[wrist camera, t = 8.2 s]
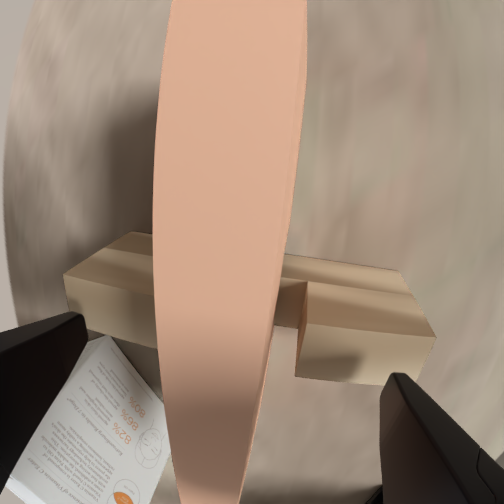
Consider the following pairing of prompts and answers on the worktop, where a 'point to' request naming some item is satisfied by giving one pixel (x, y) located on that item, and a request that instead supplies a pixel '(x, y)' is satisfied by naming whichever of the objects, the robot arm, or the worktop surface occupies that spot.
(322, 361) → the birch notched block
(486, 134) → the worktop surface
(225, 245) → the terracotta plate
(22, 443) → the robot arm
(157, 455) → the small box
